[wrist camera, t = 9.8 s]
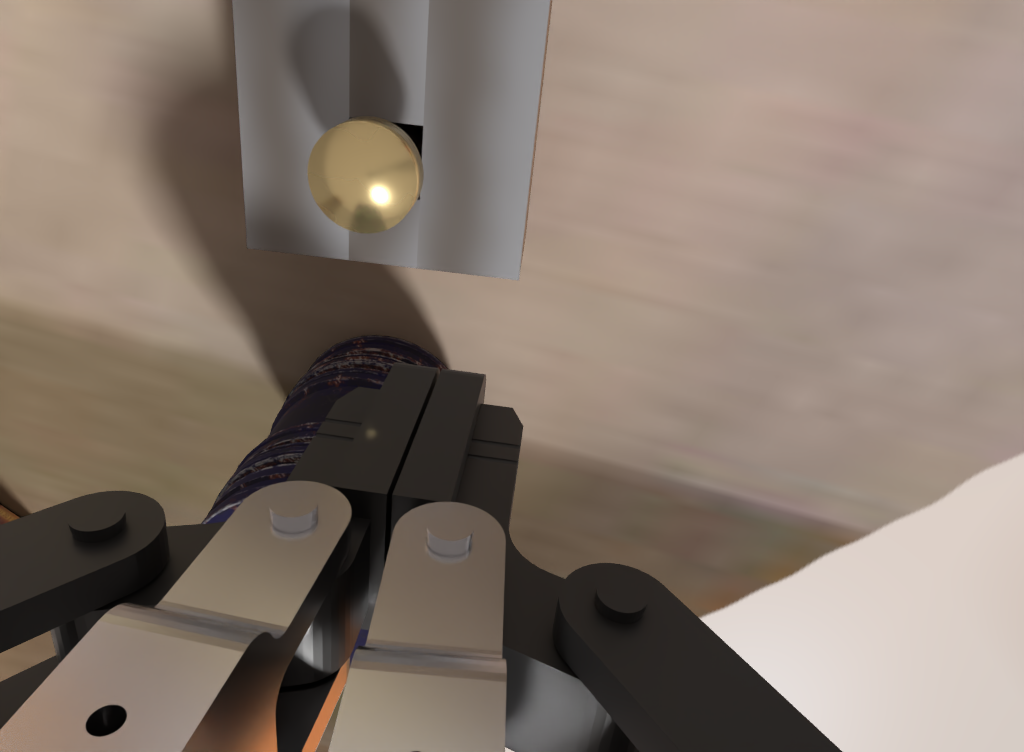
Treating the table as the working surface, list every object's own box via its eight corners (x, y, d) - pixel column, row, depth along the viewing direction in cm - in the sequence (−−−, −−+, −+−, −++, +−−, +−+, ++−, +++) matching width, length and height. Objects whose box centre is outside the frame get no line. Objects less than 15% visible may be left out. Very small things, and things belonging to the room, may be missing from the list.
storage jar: (428, 507, 46) (372, 713, 32) (277, 443, 44) (153, 631, 31) (496, 378, 41) (465, 555, 28) (332, 303, 40) (217, 451, 27)
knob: (453, 99, 34) (419, 128, 26) (447, 186, 36) (414, 239, 28) (367, 89, 34) (306, 115, 26) (366, 177, 36) (308, 227, 28)
